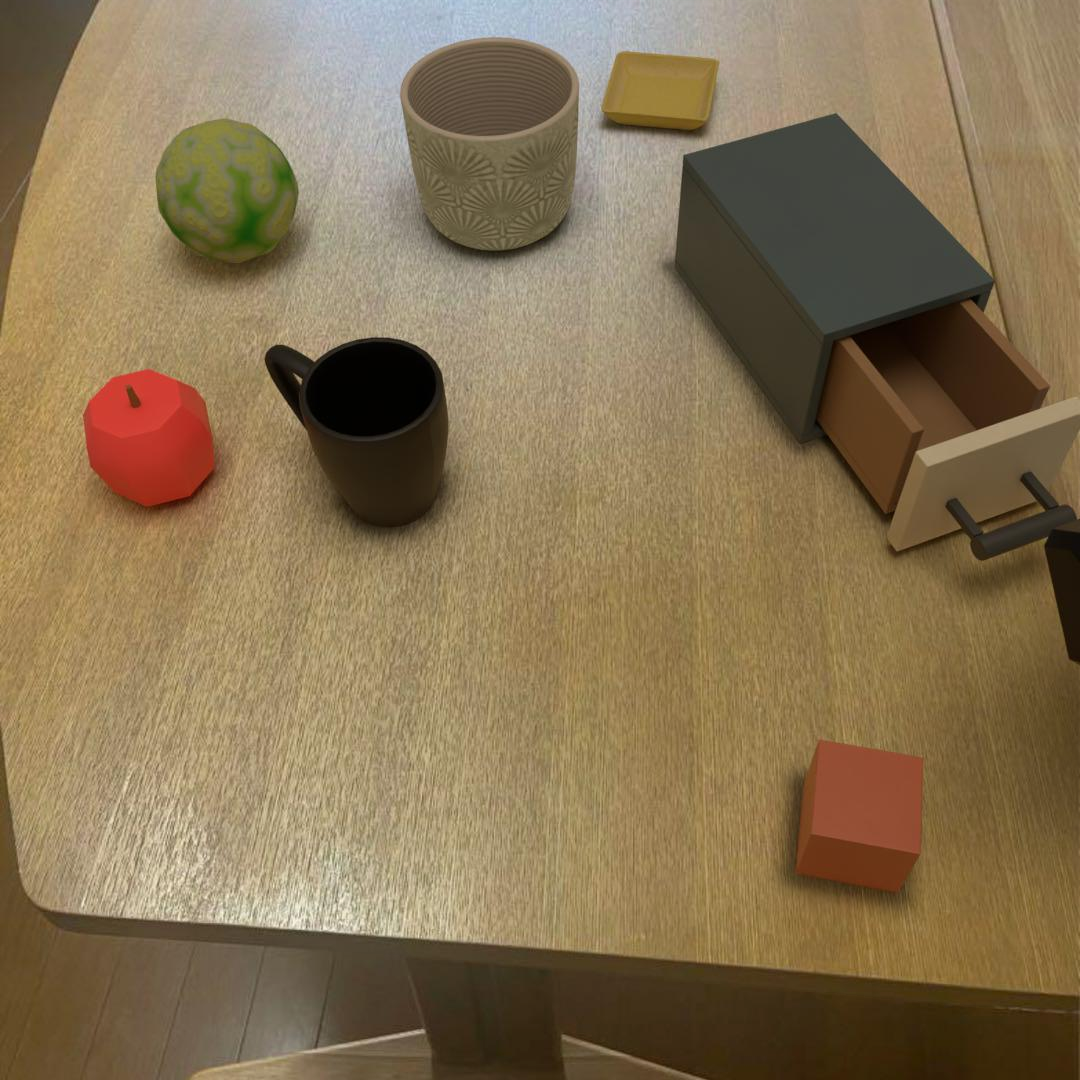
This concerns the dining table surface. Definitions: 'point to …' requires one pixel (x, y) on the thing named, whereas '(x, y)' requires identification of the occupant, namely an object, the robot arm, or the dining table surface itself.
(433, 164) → the planter
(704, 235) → the cabinet
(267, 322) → the dining table surface
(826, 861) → the block
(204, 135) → the decorative ball
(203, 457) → the apple
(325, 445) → the mug
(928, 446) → the drawer
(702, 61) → the saucer
